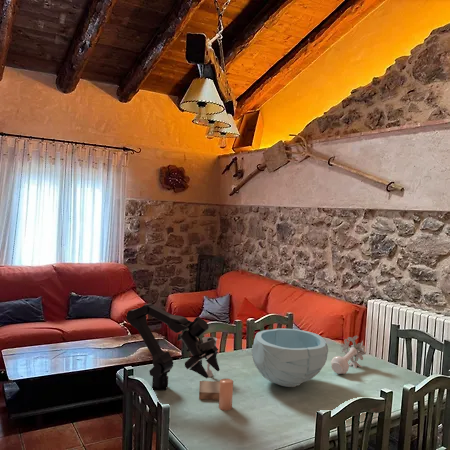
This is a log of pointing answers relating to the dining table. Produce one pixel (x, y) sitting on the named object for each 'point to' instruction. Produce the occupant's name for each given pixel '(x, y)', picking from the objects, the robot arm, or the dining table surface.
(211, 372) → the chalice
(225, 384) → the terracotta cylinder
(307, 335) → the bowl
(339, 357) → the flower vase
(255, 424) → the dining table surface
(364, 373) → the dining table surface
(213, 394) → the walnut plinth
